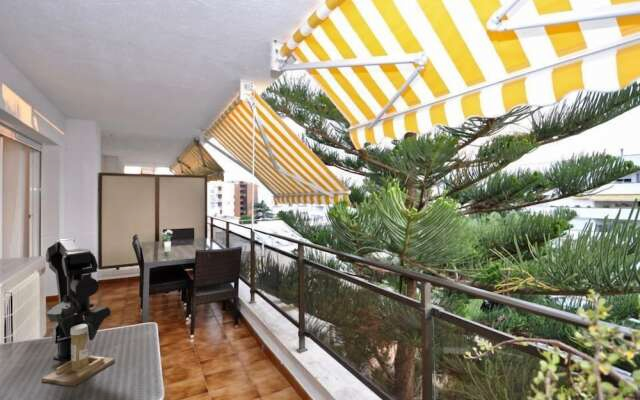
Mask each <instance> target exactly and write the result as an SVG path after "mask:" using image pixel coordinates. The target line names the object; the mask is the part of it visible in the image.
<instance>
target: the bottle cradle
mask: <svg viewBox="0 0 640 400" xmlns="http://www.w3.org/2000/svg"><path fill="white" fill-rule="evenodd" d="M114 362H115V358H113V357H106V356H97V355H91V354H88V363H89V365H87V366H85V367H84V368H82V369H80V370H78V371H72V370H71V368H72V360H71V359H70V360H68V361H67V362H65V363H63V364H62V365H60V366H58V367H56V368H55V370H54V371H52V372H51V373H49V374H47V375H45V376H43V377H42V378H41V382H44V383H50V384H55V385H63V386H68V387H76V386H77V385H79V384H81V383H82V382H83V381H86V380H87V379H89V378H90V377H92V376H93V375H95V374H96V373H98V372H99V371H101V370H103V369H104V368H106V367H108V366H110V365H111V364H113V363H114Z"/></svg>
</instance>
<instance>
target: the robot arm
mask: <svg viewBox="0 0 640 400" xmlns="http://www.w3.org/2000/svg"><path fill="white" fill-rule="evenodd" d="M45 262H46V263H48V268H49V269H50V270H51V271H52V272H53V273H54V274H55V281H56V287H57V296H58V304H56V305H54V306H52V307H49V308H48V310H47V311H46V313H45V314H46V316H47V318H48V320H49V322H50V323H53V322H54V323H55V325H54V326H53V329H52V332H51V336H52V337H51V338H52V339H51V340H52V342H53V343H54V344H55V345H56V344H57V354H56V355H55V356H53V357H52V358H53V360H54V359H55V360H60V361H71V334H70V331H71V328H72V327H74V326H76V325H80V324H86V325H87V326H88V341H93V340H94V339H95V336H96V335H97V333H98V330H99V329H100V327H101V325H102V323H103V321H104V320H105V319H107V318H108V317H109V316H110V317H111V314H112V313H111V308H110V307H108V306H101V305H99V306H96V307H94V305H95V304H94V303H91V297H92V296H94V295H95V294H96V293H97V292H98V290H99V286H100V285H99V282H98V280H97V279H96V278H94V277H92V274H93V273H97V272H98V268H99V266H98V263H97V259H96V256H95V254H94V253H93V252H91V250H90V249H87V248H81V247H79V246H78V244H77V243H76V241H75V239H73V238H64V239H58V240H55V242H54V243H53V244H52V245H50V246H49V247H47V249H46V252H45ZM91 308H92V309H91Z"/></svg>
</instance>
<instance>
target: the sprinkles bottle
mask: <svg viewBox="0 0 640 400" xmlns="http://www.w3.org/2000/svg"><path fill="white" fill-rule="evenodd" d="M70 334H71V359H70V361H71V360H72V368H71V370H72V371H78V370H80V369H82V368H84V367H85V366H87V365H89V363H88V355H89V335H88V326H87V325H86V324H80V325H76V326H74V327H72V328H71V331H70Z"/></svg>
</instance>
